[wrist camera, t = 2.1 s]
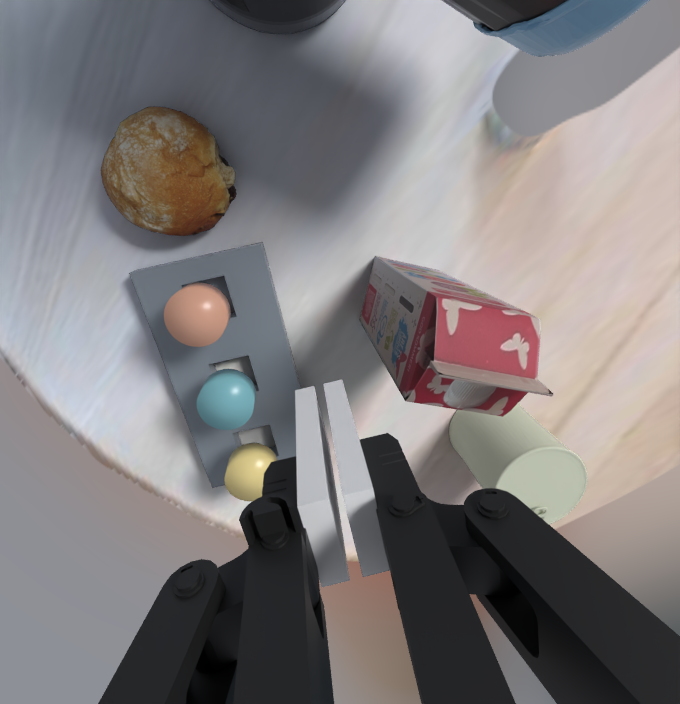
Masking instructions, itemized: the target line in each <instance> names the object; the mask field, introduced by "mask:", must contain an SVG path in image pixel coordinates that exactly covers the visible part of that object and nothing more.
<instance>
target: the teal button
mask: <svg viewBox="0 0 680 704" xmlns="http://www.w3.org/2000/svg"><path fill="white" fill-rule="evenodd" d="M255 398H256V389H255V386H254V384H253V382H252V380H251V379H250V378H249V377H248V376H247V375H246V374H244V373H242V372H240V371H238V370H234V369H223V370H219V371H216V372H214V373H213V374H211V375H210V376H209V377H208V378H207V379H206V381H205V383H204V385H203V387H202V389H201V391H200V393H199V395H198V398H197V410H198V413H199V415H200V417H201V418H202V420H203V421H204V422H205V423H207V424H208V425H210V426H211V427H214V428H216V429H220V430H232V429H236V428H238V427H241V426H242V425H244V424H245V423H246V422H247V421H248V420H249V419H250V417H251V415H252V413H253V409H254V403H255Z"/></svg>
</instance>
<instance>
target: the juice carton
mask: <svg viewBox="0 0 680 704" xmlns="http://www.w3.org/2000/svg"><path fill="white" fill-rule="evenodd" d="M360 322H361V324H362V326H363V327H364V329H365V331H366V333H367V334H368V336H369V338H370V340H371V341H372V343H373V345H374V347H375V349H376V350H377V352H378V354H379V356H380V357H381V359H382V361H383V363H384V364H385V366H386V368H387V370H388V371H389V373H390V375H391V377H392V378H393V380H394V382H395V384H396V385H397V387H398V389H399V391H400V393H401V394H402V396H403V398H404V400H405V401H408V402H414V403H420V404H427V405H433V406H439V407H446V408H452V409H458V410H464V411H471V412H477V413H483V414H489V415H496V416H502V417H503V416H504V415H506V414H507V413H508V412H510V411H511V410H512V409H513V408H514V407H515V406H516V405H517V404H518V402H519V401H520V400H521V399H522V398H523V397H524V396H525V395H526V394H527V393H528V392H530V393H535V394H541V395H547V396H552V395H553V393H552V392H551V391H550V390H549V389H547V388H546V387H545V386H544V385H543V384H542V383H541V382H540V381H539V380H537V376H538V362H539V348H540V334H541V327H540V318H538V317H535V316H533V315H531V314H529V313H527V312H525V311H523V310H521V309H519V308H516V307H514V306H512V305H510V304H508V303H506V302H504V301H502V300H500V299H498V298H495V297H493V296H491V295H489V294H487V293H485V292H483V291H481V290H479V289H477V288H474V287H472V286H470V285H468V284H466V283H464V282H462V281H460V280H458V279H455V278H453V277H451V276H449V275H447V274H445V273H443V272H441V271H439V270H435V269H430V268H426V267H421V266H417V265H412V264H408V263H403V262H399V261H394V260H390V259H385V258H381V257H376V256H375V259H374V263H373V267H372V271H371V275H370V279H369V283H368V287H367V291H366V295H365V299H364V303H363V307H362V311H361V315H360Z"/></svg>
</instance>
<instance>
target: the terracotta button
mask: <svg viewBox="0 0 680 704" xmlns="http://www.w3.org/2000/svg"><path fill="white" fill-rule="evenodd" d="M230 315H231V310H230V305H229V302H228V300H227V298H226V296H225V295H224V294H223V293H222V292H221V291H220V290H219V289H218V288H216V287H214V286H212V285H210V284H207V283H192V284H189V285H186V286H184V287H183V288H182V289H180V290H179V291H178V292H176V293H175V294H174V295H173V296H172V297H171V298H170V299H169V300H168V302H167V304H166V306H165V309H164V322H165V325H166V327H167V329H168V331H169V332H170V334H171V335H172V336H173V337H174V338H175V339H176V340H178V341H179V342H181V343H183V344H185V345H188V346H193V347H203V346H207V345H210V344H212V343H214V342H215V341H217V340H218V339H219V338H220V337H221V335H222V334H223V332H224V330H225V328H226V326H227V324H228V322H229V320H230Z"/></svg>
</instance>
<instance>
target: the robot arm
mask: <svg viewBox="0 0 680 704" xmlns="http://www.w3.org/2000/svg"><path fill="white" fill-rule="evenodd" d="M210 1H211V2H212V3H213V4H214V5H215V6H216V7H217V8H219V9H220V10H221V11H222V12H223V13H225V14H226V15H227V16H229V17H230V18H232V19H233V20H235V21H237V22H238V23H240V24H242V25H244V26H246V27H249V28H252V29H254V30H258V31H261V32H266V33H273V34H289V33H295V32H300V31H303V30H306V29H309V28H311V27H314V26H316V25H318V24H319V23H321V22H323V21H324V20H326V19H327V18H328V17H330V16H331V15H332V14H333V13H334V12H335V11H336V10H337V9H338V8H339V7H340V6H341V5H342V4H343V3H344V2H345V0H210ZM442 1H443V2H445V3H446V4H448V5H449V6H451V7H452V8H454V9H455V10H457V11H458V12H460V13H461V14H463V15H464V16H466V17H468V18H469V19H471V20H472V21H473V23H474V26H475V28H477V29H478V30H479V31H480V32H482V33H484V34H486V35H490V36H496V37H500V38H501V39H503V40H505V41H506V42H508V43H510V44H512V45H513V46H515V47H517V48H519V49H520V50H522V51H524V52H526V53H528V54H530V55H534V56H538V57H542V56H547V55H549V56H554V55H562V54H566V53H569V52H572V51H574V50H576V49H579V48H581V47H583V46H585V45H587V44H589V43H591V42H593V41H595V40H596V39H598V38H600V37H602V36H603V35H605V34H606V33H608V32H609V31H611V30H612V29H614V28H615V27H617V26H618V25H619V24H621V23H622V22H623V21H625V20H626V19H627V18H629V17H630V16H631V15H633V14H634V13H635V12H636V11H638V10H639V9H640V8H641V7H643V6H644V5H645V4H646V3H647V2H649V1H650V0H442ZM323 385H324V391H325V397H326V403H327V408H328V414H329V420H330V426H331V431H332V437H333V443H334V449H335V455H336V460H337V466H338V472H339V478H340V483H341V489H342V495H343V499H344V503H345V507H346V511H347V515H348V519H349V523H350V527H351V531H352V535H353V539H354V543H355V547H356V551H357V555H358V559H359V563H360V567H361V571H362V575H363V577H365V576H369V575H373V574H377V573H381V572H385V571H389V570H390V572H391V577H392V581H393V586H394V590H395V595H396V600H397V604H398V609H399V611H400V615H401V619H402V624H403V628H404V632H405V636H406V640H407V645H408V649H409V653H410V657H411V661H412V665H413V670H414V674H415V678H416V682H417V686H418V690H419V695H420V699H421V703H422V704H516V703H515V701H514V699H513V696H512V694H511V692H510V689H509V687H508V685H507V682H506V680H505V677H504V675H503V673H502V671H501V668H500V666H499V663H498V661H497V659H496V656H495V654H494V652H493V649H492V647H491V644H490V642H489V640H488V638H487V635H486V633H485V631H484V628H483V626H482V624H481V621H480V619H479V617H478V614H477V612H476V609H475V607H474V605H473V602H472V600H471V597H470V595H469V594H476V595H477V598H478V599H479V601H480V602H481V603H482V604H483V606H484V607H485V609H486V610H487V611H488V613H489V614H490V615H491V617H492V618H493V619H494V621H495V622H496V623H497V624H498V626H499V627H500V629H501V630H502V631H503V633H504V634H505V635H506V637H507V638H508V639H509V641H510V642H511V643H512V645H513V646H514V647H515V648H516V650H517V651H518V652H519V654H520V655H521V657H522V658H523V659H524V660H525V662H526V663H527V664H528V666H529V667H530V668H531V670H532V671H533V672H534V674H535V675H536V676H537V678H538V679H539V680H540V682H541V683H542V684H543V686H544V687H545V688H546V690H547V691H548V692H549V694H550V695H551V696H552V698H553V699H554V700H555V702H556V703H557V704H680V636H679V635H678V634H676V633H675V632H674V631H673V630H672V629H670V628H669V627H668V626H667V625H666V624H665V623H663V622H662V621H661V620H660V619H659V618H658V617H656V616H655V615H654V614H653V613H652V612H650V611H649V610H648V609H647V608H646V607H645V606H643V605H642V604H641V603H640V602H639V601H638V600H636V599H635V598H634V597H633V596H632V595H631V594H630V593H628V592H627V591H626V590H625V589H624V588H622V587H621V586H620V585H619V584H618V583H617V582H615V581H614V580H613V579H612V578H611V577H610V576H608V575H607V574H606V573H605V572H604V571H603V570H601V569H600V568H599V567H598V566H597V565H595V564H594V563H593V562H592V561H591V560H590V559H588V558H587V557H586V556H585V555H583V553H581V552H580V551H579V550H578V549H577V548H576V547H574V546H573V545H572V544H571V543H570V542H569V541H567V540H566V539H565V538H564V537H563V536H562V535H560V534H559V533H558V532H557V531H556V530H555V529H553V528H552V527H551V526H550V525H549V524H547V523H546V522H545V521H544V520H543V519H542V518H540V517H539V516H538V515H537V514H536V513H535V512H533V511H532V510H531V509H530V508H529V507H528V506H526V505H525V504H524V503H523V502H522V501H521V500H519V499H518V498H517V497H516V496H514V495H512V494H511V493H509V492H507V491H504V490H500V489H497V488H484V489H481V490H477V491H475V492H473V493H472V494H470V495H469V496H468V497H467V498H466V500H465V502H464V505H447V504H440V503H436V502H434V501H432V500H430V499H428V498H427V497H426V496H425V495H424V494H423V493H422V492H421V491H420V489H419V487H418V485H417V482H416V480H415V478H414V476H413V473H412V471H411V469H410V467H409V464H408V462H407V460H406V458H405V455H404V453H403V452H402V449H401V446H400V444H399V442H398V440H397V439H395V438H394V437H393V436H391V435H390V434H388V433H386V434H382V435H377V436H373V437H369V438H365V439H361V440H359V437H358V433H357V430H356V426H355V423H354V419H353V416H352V412H351V409H350V405H349V402H348V398H347V394H346V391H345V387H344V384H343V380H337V381H333V382H329V383H324V384H323ZM295 409H296V456H294V457H290V458H286V459H282V460H277V461H273V462H271V463H270V465H269V466H268V468H267V469H266V471H265V473H264V478H263V488H262V497H260V498H257V499H256V500H254V501H253V502H251V503H250V504H248V506H247V507H246V508H245V509H244V510H243V511H242V513H241V516H240V519H239V521H240V524H241V526H242V529H243V532H244V534H245V537H246V540H247V542H248V545H249V548H248V549H247V550H246V551H245V552H244V553H243V554H242V555H240V556H238V557H237V558H235V559H234V560H232V561H230V562H228V563H226V564H224V565H222V566H220V567H219V568H217V566H216V564H214V563H213V562H212V561H210V560H202V559H201V560H197V561H192V562H190V563H188V564H186V565H184V566H182V567H180V568H179V569H178V570H177V571H176V572H174V573H173V574H172V575H171V576H170V577H169V579H168V580H167V581H166V583H165V584H164V586H163V587H162V589H161V591H160V593H159V595H158V596H157V598H156V600H155V602H154V604H153V606H152V608H151V609H150V611H149V613H148V615H147V617H146V619H145V620H144V622H143V624H142V626H141V627H140V629H139V631H138V633H137V635H136V636H135V638H134V640H133V642H132V644H131V646H130V647H129V649H128V651H127V653H126V654H125V656H124V658H123V660H122V662H121V663H120V665H119V667H118V669H117V671H116V673H115V674H114V676H113V678H112V680H111V682H110V683H109V685H108V687H107V689H106V691H105V692H104V694H103V696H102V698H101V700H100V702H99V703H98V704H334V698H333V688H332V678H331V669H330V660H329V649H328V640H327V630H326V621H325V611H324V604H323V602H322V598H321V595H320V589H319V580H320V583H321V586H322V587H325V586H329V585H333V584H337V583H341V582H345V581H349V580H350V579H349V573H348V566H347V560H346V553H345V546H344V540H343V533H342V527H341V520H340V514H339V507H338V501H337V494H336V488H335V481H334V475H333V468H332V462H331V455H330V448H329V443H328V439H327V435H326V431H325V427H324V423H323V419H322V415H321V411H320V407H319V403H318V399H317V395H316V391H315V387H314V386H312V387H307V388H303V389H299V390H295Z"/></svg>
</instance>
